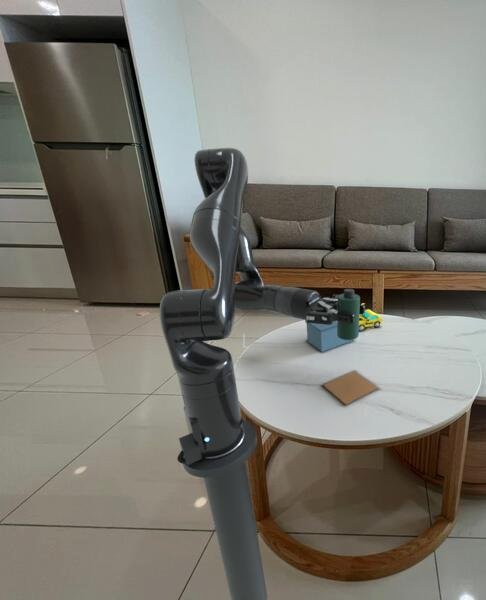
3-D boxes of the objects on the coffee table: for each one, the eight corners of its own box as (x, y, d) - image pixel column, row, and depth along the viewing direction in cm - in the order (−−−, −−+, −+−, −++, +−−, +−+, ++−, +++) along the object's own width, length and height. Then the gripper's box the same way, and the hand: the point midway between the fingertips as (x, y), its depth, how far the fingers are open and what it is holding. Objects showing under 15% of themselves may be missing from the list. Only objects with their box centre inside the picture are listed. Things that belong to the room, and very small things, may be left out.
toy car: (373, 319, 125) (373, 299, 122) (383, 327, 119) (384, 306, 116) (344, 325, 119) (344, 304, 116) (353, 333, 113) (353, 312, 110)
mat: (345, 405, 77) (345, 403, 77) (323, 385, 84) (323, 384, 84) (377, 389, 83) (377, 387, 83) (354, 372, 90) (354, 371, 90)
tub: (321, 352, 100) (320, 330, 97) (306, 341, 107) (304, 319, 104) (354, 340, 108) (353, 319, 105) (337, 331, 115) (337, 310, 112)
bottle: (350, 342, 75) (352, 295, 71) (332, 336, 77) (333, 290, 74) (362, 334, 80) (364, 289, 76) (345, 329, 82) (346, 285, 78)
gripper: (278, 298, 73) (345, 310, 68) (312, 281, 86) (371, 290, 81) (281, 327, 76) (345, 341, 71) (314, 307, 89) (370, 317, 83)
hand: (358, 314), depth 76 cm, fingers closed on bottle, 5 cm apart
